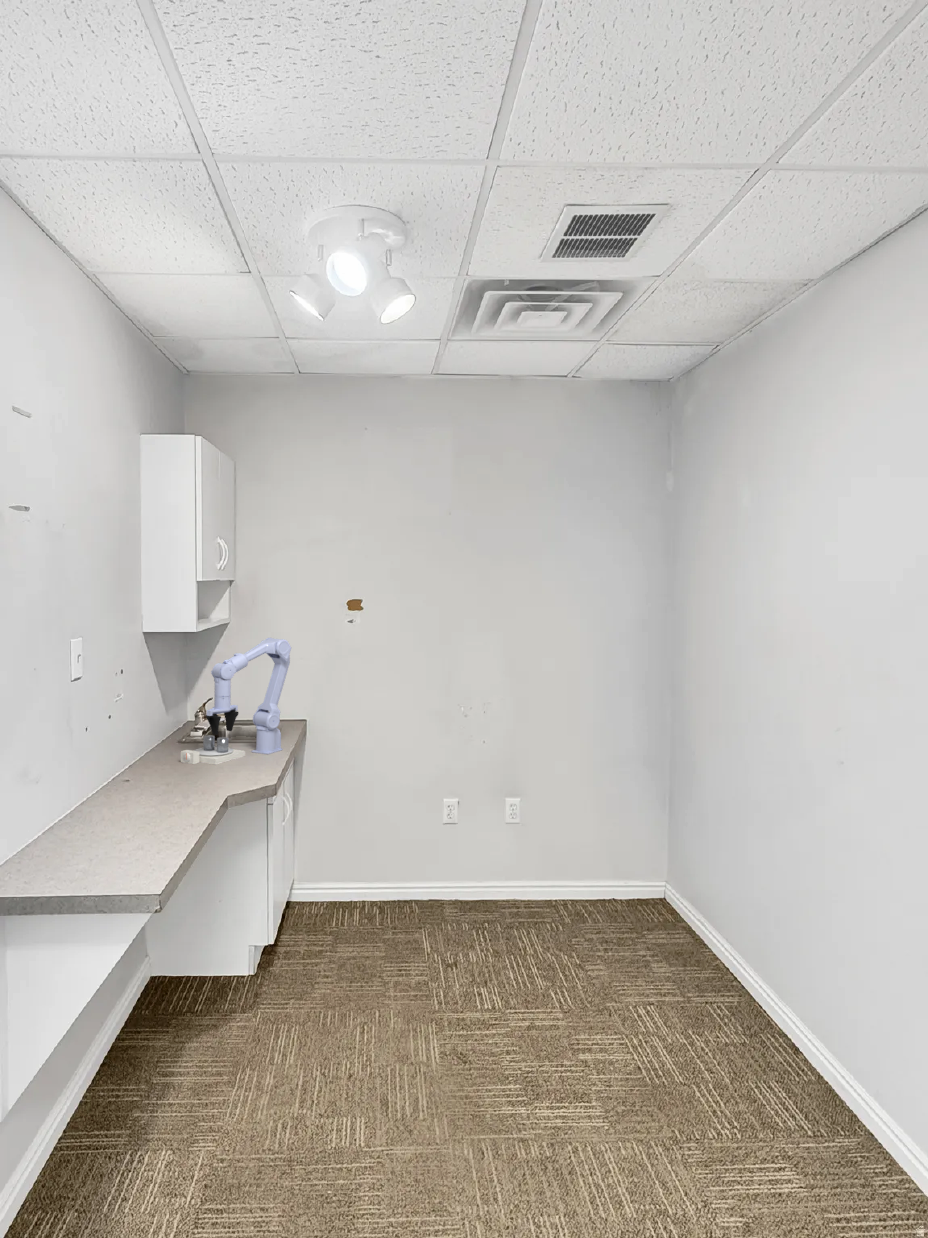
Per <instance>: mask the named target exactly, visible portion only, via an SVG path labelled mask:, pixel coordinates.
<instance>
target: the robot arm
mask: <svg viewBox="0 0 928 1238" xmlns="http://www.w3.org/2000/svg"><path fill="white" fill-rule="evenodd" d="M291 650H292V646H291V645H290V643H289V641H288V640H287V639H283V638H275V637H267V638H265V639H263V640H261V641H260V643H258V644H257V645H255V646H254V647H252V648H250V649H249V650H248V651H246V652H244V653H242V652H239V653H238V652H235V653H233V656H232V657H230V658H228V659H224V660H223V662H222V663H221V662H218V663H215V664H214V666H213V667H212V670H211V671H210V674H211V677H213V682H214V697H213V698H214V706H212V708H210V709H206V714H205V718H206V721H208V724H209V726H210V730H211V733H212V734H211V735H214V736H216V735H219V728H220V726H219V725H220V722H221V718H222V716H221V715H219V714H223V716H224V719H225V730H226V732H232V731H233V728H234V725H235V722H236V719H237V718H238V716H239V711H238V709H239V705H238V704H237V705H236V704H231V702H232V701H231V700H232V699H231V695H232V693H231V690H232V689H231V688H232V685H231V683H232V682H231V680H232V678H234V676H235V674H236V673H239V671H241V670H244V668H247V667H248V664H249V662H251V661H253V660H255V659H257V658H259V657H260V656H263V655H264V654H266V655H267V656H268V657H269V658H271V660H272V662H273V663H274V664H273V669H272V672H271V676H270V679H269V682H268V686H267V689H266V692H265V696H264V699H263V702H262V703H261V704H260V705H258V706H257V710H256V711H255V712H254V713H253V716H252V723H253V725H255V729H256V738H255V739H256V743H255V744H256V748H255V749H253V750H251V751H250V752H251V753H256V754H262V755H263V754H264V755H270V754H275V753H277V752H280V751H283V749H284V748H282V733H281V730H280V729H279V728H278V727H279V725H280V723H281V722H280V720H281V719H280V718H281V717H280V715H281V710H280V708H279V707H278V705H279V702H280V698H281V694H282V691H283V687H284V685H285V684H284V683H285V681H286V677H287V673H288V671H289V666H290V663H291V657H290V656H291V655H290V654H291Z"/></svg>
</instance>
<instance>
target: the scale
mask: <svg viewBox="0 0 928 1238" xmlns="http://www.w3.org/2000/svg"><path fill="white" fill-rule="evenodd" d="M244 757H246V751H245V750H240V749H235V748H234V749H233V748H232V747H229V746H228V752H226V753H218V752H217V745H216V746H215V750H212V751H205V750H203V747H198V748H196V749H194V750H191V749H185V750H184V749H183V750H181V751H180V763H182V764H183V763H184V764H189V765H196V764H199V763H203V764H209V765H219V764H222V763H226V762H229V761H233V760H237V759H241V758H244Z"/></svg>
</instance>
